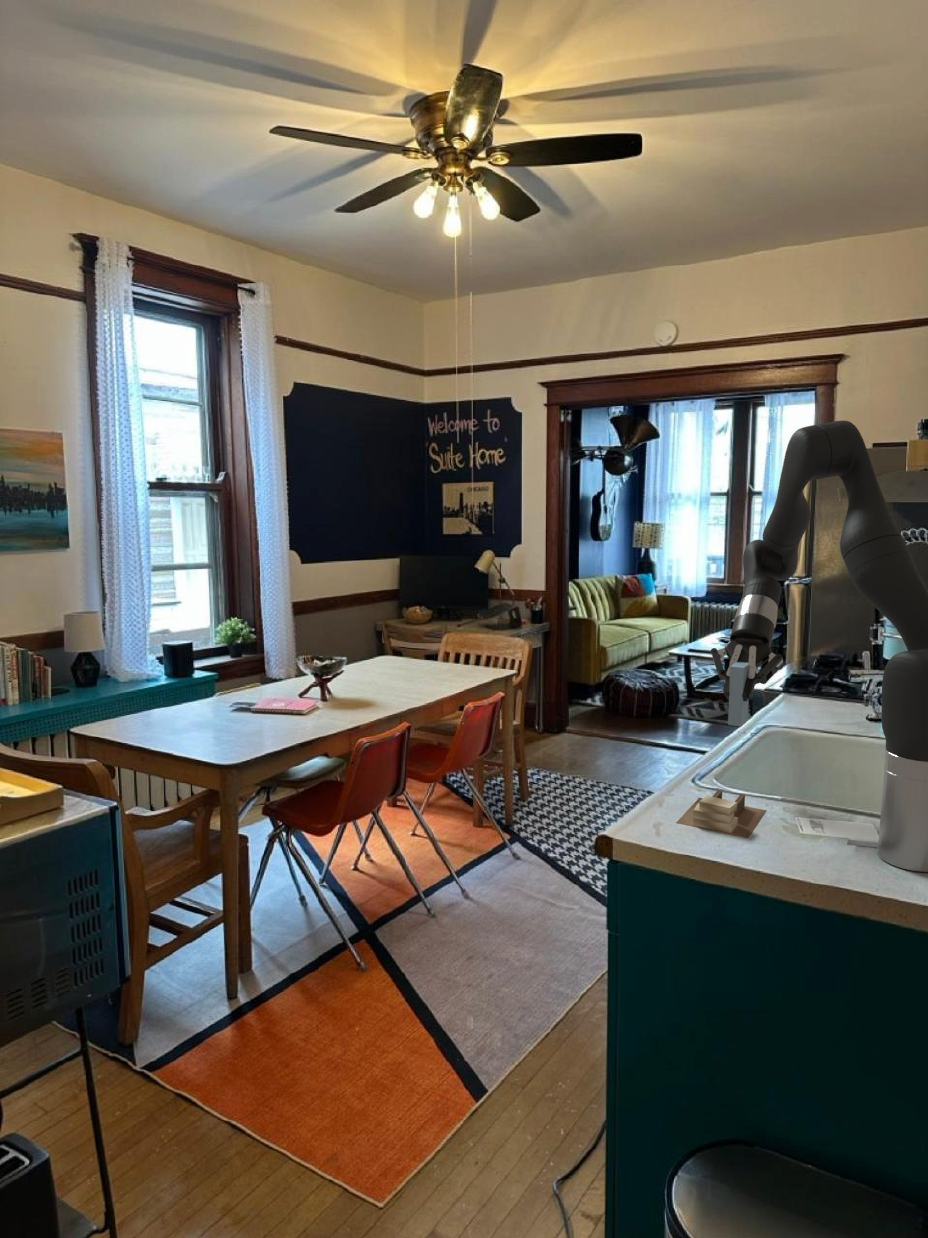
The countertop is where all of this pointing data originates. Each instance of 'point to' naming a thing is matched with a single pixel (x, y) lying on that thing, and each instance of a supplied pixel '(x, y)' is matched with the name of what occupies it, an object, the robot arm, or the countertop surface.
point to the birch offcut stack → (715, 814)
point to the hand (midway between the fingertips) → (736, 697)
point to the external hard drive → (843, 831)
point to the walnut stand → (745, 815)
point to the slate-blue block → (738, 694)
